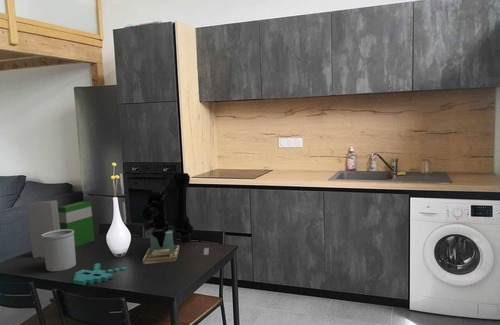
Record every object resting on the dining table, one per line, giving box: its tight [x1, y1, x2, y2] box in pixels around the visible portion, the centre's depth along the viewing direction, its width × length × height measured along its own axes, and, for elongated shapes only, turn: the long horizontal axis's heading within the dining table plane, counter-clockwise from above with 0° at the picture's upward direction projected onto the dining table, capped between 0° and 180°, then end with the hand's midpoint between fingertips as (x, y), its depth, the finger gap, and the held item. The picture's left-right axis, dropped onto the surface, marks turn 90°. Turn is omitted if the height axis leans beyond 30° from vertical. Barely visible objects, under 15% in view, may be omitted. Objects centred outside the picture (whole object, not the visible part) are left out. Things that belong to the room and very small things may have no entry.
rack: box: [142, 244, 181, 265], centre depth 213 cm, size 20×16×3 cm
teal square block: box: [149, 230, 175, 253], centre depth 217 cm, size 3×11×11 cm, turn 95°
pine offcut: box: [152, 249, 170, 256], centre depth 208 cm, size 4×8×2 cm, turn 91°
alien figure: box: [72, 262, 129, 286], centre depth 194 cm, size 20×2×20 cm
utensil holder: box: [41, 229, 77, 272], centre depth 210 cm, size 15×15×18 cm
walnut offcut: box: [148, 253, 170, 259], centre depth 208 cm, size 4×10×2 cm, turn 100°
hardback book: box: [57, 200, 96, 248], centre depth 251 cm, size 18×7×24 cm, turn 150°
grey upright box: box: [26, 200, 60, 259], centre depth 230 cm, size 14×6×30 cm, turn 84°
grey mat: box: [202, 247, 210, 256], centre depth 218 cm, size 11×13×1 cm
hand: (162, 244), depth 217 cm, fingers open, 9 cm apart
